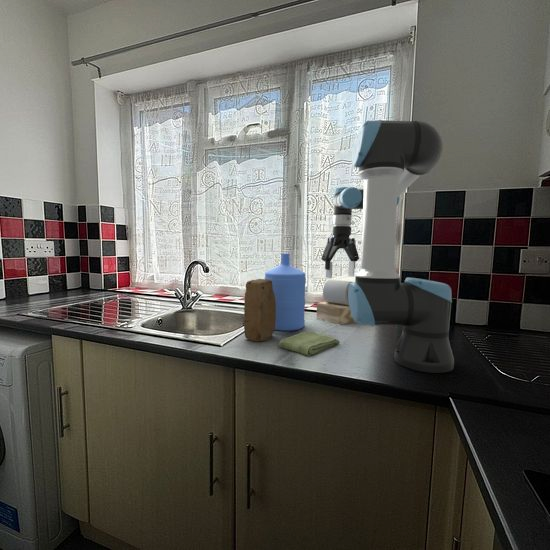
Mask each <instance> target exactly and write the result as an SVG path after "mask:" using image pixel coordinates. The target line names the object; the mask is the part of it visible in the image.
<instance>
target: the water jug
mask: <svg viewBox="0 0 550 550" xmlns="http://www.w3.org/2000/svg"><path fill="white" fill-rule="evenodd" d="M280 255H281V259H280V260H281V263H280V265H277V266H275V267H274V268H271V269H269V270H267V271H266V272H265V273H264V275H265V276H264V279H268V280H271V281H272V285H273V291H274V294H275V301H276V320H275V329H274V331H279V332H289V331H292V332H293V331H297V330H301V329H302V328H304V327H305V323H306V321H305V310H306V309H305V308H306V307H305V305H306V284H307V283H306V272H304V271H302V270H301V269H299V268H297V267H295V266H293V265H291V263H290V261H291V258H290V255H291V254H290V253H281V254H280Z"/></svg>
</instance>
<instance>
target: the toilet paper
mask: <svg viewBox="0 0 550 550" xmlns="http://www.w3.org/2000/svg"><path fill="white" fill-rule="evenodd" d="M352 282H353V281H350V280H349V281H348V280H341V279H340V280H339V279H331V278H328V279H327V280H326V281H325V283H324V286H323V289H322V290H323V291H322V297H323V300H324V302H327V303H334V304H341V305H348V306H349V300H348V290H349V284H350V283H352Z"/></svg>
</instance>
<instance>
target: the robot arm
mask: <svg viewBox="0 0 550 550" xmlns="http://www.w3.org/2000/svg"><path fill="white" fill-rule="evenodd" d="M443 144H444V143H443V138H442V136H441V134H440V133H439V131H438V130H437V128H435V126H433V125H432V124H430V123H428V122H425V121H423V120H411V121H410V120H385V119H384V120H382V119H377V120H367V121H364V122H363V123H361V125H360V127H359V128H358V131H357V133H356V135H355V140H354V143H353V147H352V154H351V165H352V167H353V168H355V169H358V171H357V172H358V173H357V174H358V177H359V178H360V179H361V180H362V181H363V188H358V187H355V186H339V187H336V188H334V190H333V212H332V213H333V214H332V225H333V226H332V237H331V236H330V237H328V238H327V242H326V246H325V247H324V250H323V254H322V256H321V260H322V261H323V262H324V263H325V265H324V266H325V268H324V269H325V278H326V279H333V261H332V259H333V258H334V257H335V255H336V253H337V252H338V250H340V249H342V250H344V251H345V253H346V255H347V257H348V259H349V260H348V274H347V276H348V277H351V278H353V277H354V278H355V279H354V280H355V281H351V282H352V283H350V284H349V290H348V300H349V306H350V311H351V314H352V317H353V319H354V320H355V321H354V323H356V324H357V325H360V326H371V327H374V326H375V327H376V326H380V327H382V326H384V327H385V326H387V327H390V326H391V327H394V326H395V327H400V326H401V327H402V330H401V331H402V333H401V335H400V338H399V339H398V342H397V344H396V347H395V349H394V353H393V354H394V355H393V358H394V359H393V360H394V361H395V362H396V364H398V365H400V366H402V367H404V368H407V369H410V370H412V371H417V372H422V373H431V374H437V373H438V374H440V373H441V374H443V373H448V372H452V371H453V370H454V368H455V367H454V366H455V358H454V354H453V350H452V348H451V343H450V340H449V334H450V333H449V332H450V321H451V310H452V303H453V300H452V299H453V298H452V297H453V296H452V288H451V286H450V285H449V284H447V283H444V282H439V281H436V280H428V279H423V278H416V277H406V278H405V280H404V282H401V276H400V275H399V274H398V273H397V272H396V270H395V263H396V262H395V261H396V237H397V236H396V235H397V234H396V233H397V230H396V229H397V213H398V212H397V210H398V209H397V208H398V205H399V203H400V196H401V195H402V193H404V192H405V191H406V190H407V189H408V188H409V187H410V186H411V185H412V184H413V183H415V182H416V180H417V179H418V178H419V177H420V176H425V175H426V174H429V173H430V172H431V171H432V170H433V169H434V168H435V167H436V166H437V165H438V163H439V161H440V159H441V157H442V155H443V149H444V147H443ZM353 210H362V232H361V233H362V235H361V238H362V239H361V266H360V268H361V269H360V270H359V272H357V273H356V274H355V269H356V262H358V260H360V255H359V253H358V249H357V246H356V240H355V239H356V238H355V237H350V236H352V226H351V225H352V216H353V215H352V214H353V212H352V211H353Z"/></svg>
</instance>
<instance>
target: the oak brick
mask: <svg viewBox="0 0 550 550" xmlns="http://www.w3.org/2000/svg"><path fill="white" fill-rule="evenodd" d="M318 318H319V319H318ZM316 319H318V320H322V319H323V320H322V321H325V320H326V322H328V323H333V324H336V325H343V324H348V323H353V322H354V323H355V320H354V319H353V317H352V314H351V311H350V306H348V305H341V304H334V303H327V302H325V301H322V302H321V301H320V302H316Z"/></svg>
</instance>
